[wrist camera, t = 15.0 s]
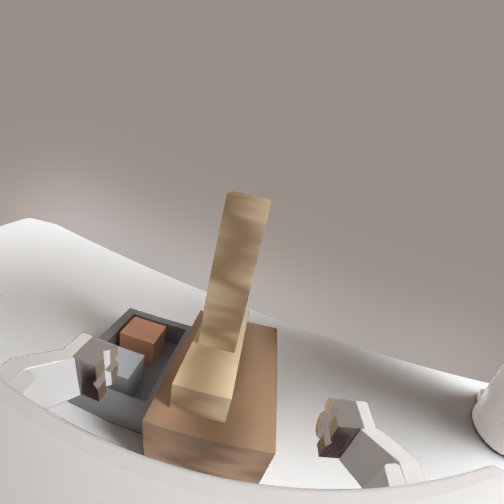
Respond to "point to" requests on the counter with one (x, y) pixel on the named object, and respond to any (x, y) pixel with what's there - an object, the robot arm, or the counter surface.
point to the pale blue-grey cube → (128, 371)
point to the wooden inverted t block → (222, 313)
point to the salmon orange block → (144, 338)
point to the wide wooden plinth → (237, 422)
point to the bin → (135, 408)
